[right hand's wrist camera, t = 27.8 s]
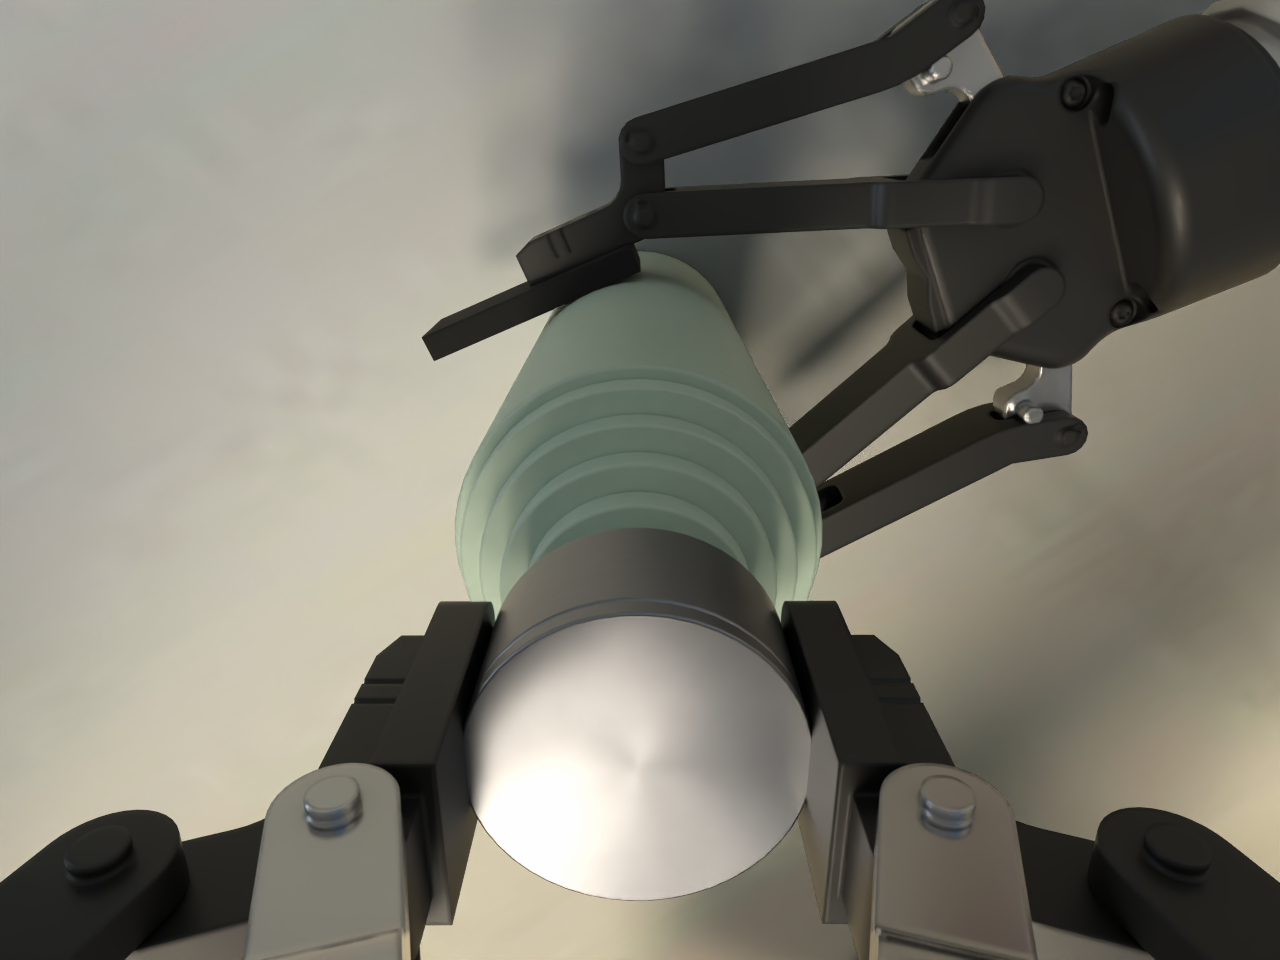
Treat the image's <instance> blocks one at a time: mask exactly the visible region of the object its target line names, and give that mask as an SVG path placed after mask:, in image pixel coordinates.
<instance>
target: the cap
mask: <svg viewBox="0 0 1280 960" xmlns="http://www.w3.org/2000/svg"><path fill="white" fill-rule="evenodd" d="M463 735H464V748H465V759H466V770H467V781H468V792H469V801H470V805H471V807H472V809H473V811H474V813H475V815H476V817H477V818H478V820H479V822H480V823H481V825H482V826H483V828H484V829H485V831H486V832H487V833H488V835H489V836H490V837H491V838H492V839H493V840H494V842H495V843H496V844H497V845H498V846H499V847H500V848H501V849H502V850H503V851H504V852H505V853H507V854H508V855H509V856H510V857H511V858H512V859H513V860H515V861H516V862H517V863H519V864H520V865H522V866H523V867H525V868H526V869H527V870H529V871H530V872H532V873H534V874H536V875H538V876H539V877H541V878H543V879H545V880H547V881H549V882H551V883H554V884H556V885H559V886H561V887H563V888H566V889H569V890H572V891H576V892H579V893H582V894H586V895H590V896H596V897H601V898H606V899H616V900H627V901H646V900H659V899H668V898H675V897H680V896H684V895H689V894H693V893H696V892H700V891H703V890H706V889H709V888H712V887H714V886H717V885H719V884H721V883H723V882H726V881H728V880H730V879H732V878H734V877H736V876H737V875H739V874H741V873H743V872H744V871H746V870H748V869H749V868H751V867H752V866H753V865H755V864H756V863H757V862H759V861H760V860H761V859H763V858H764V857H765V856H767V855H768V854H769V853H770V852H771V851H772V850H773V849H774V848H775V847H776V846H777V845H778V844H779V843H780V842H781V841H782V839H783V838H784V837H785V835H786V834H787V833H788V832H789V830H790V829H791V828H792V826H793V825H794V823H795V821H796V820H797V818H798V816H799V815H800V813H801V811H802V809H803V806H804V804H805V801H806V795H807V784H808V773H809V762H810V750H811V738H812V729H811V725H810V721H809V718H808V714H807V711H806V707H805V704H804V701H803V697H802V694H801V690H800V687H799V683H798V680H797V677H796V673H795V670H794V666H793V663H792V659H791V656H790V653H789V649H788V646H787V642H786V639H785V636H784V632H783V629H782V625H781V622H780V619H779V616H778V614H777V612H776V609H775V607H774V605H773V602H772V601H771V599H770V598H769V596H768V594H767V593H766V591H765V589H764V588H763V587H762V585H761V584H760V583H759V582H758V581H757V579H756V578H755V577H754V576H753V575H752V573H750V572H749V571H748V570H747V569H746V568H745V567H744V566H743V565H742V564H740V563H739V562H738V561H737V560H735V559H734V558H733V557H731V556H730V555H728V554H727V553H725V552H724V551H722V550H721V549H719V548H717V547H715V546H713V545H711V544H709V543H707V542H705V541H702V540H700V539H697V538H694V537H691V536H688V535H686V534H682V533H677V532H673V531H669V530H663V529H653V528H621V529H613V530H606V531H602V532H598V533H594V534H590V535H586V536H584V537H581V538H579V539H576V540H573V541H571V542H568V543H566V544H564V545H562V546H561V547H559V548H557V549H555V550H553V551H552V552H550V553H548V554H547V555H546V556H544V557H543V558H542V559H540V560H539V561H537V562H536V563H535V564H534V565H533V566H531V567H530V568H529V569H528V570H527V571H526V572H525V573H524V574H523V575H522V576H521V577H520V579H519V580H518V581H517V582H516V584H515V585H514V586H513V588H512V589H511V590H510V591H509V593H508V595H507V597H506V599H505V600H504V602H503V604H502V606H501V608H500V610H499V613H498V616H497V618H496V621H495V624H494V627H493V630H492V633H491V637H490V640H489V643H488V647H487V650H486V653H485V656H484V660H483V663H482V666H481V669H480V673H479V676H478V679H477V682H476V686H475V689H474V692H473V695H472V699H471V702H470V706H469V709H468V712H467V715H466V718H465V722H464V726H463Z"/></svg>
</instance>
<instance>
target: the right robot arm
mask: <svg viewBox="0 0 1280 960" xmlns="http://www.w3.org/2000/svg"><path fill="white" fill-rule="evenodd" d="M494 624H495V613H494V607H493V604H492V602H490V601H442V602H440V603H439V604H438V606H437V608H436V610H435V612H434V615H433V617H432V619H431V622H430V624H429V626H428V628H427V631H426V633H425V635H424V636H400V637H399V638H398V639H397V640H396V641H394V642H393V643H392V644H391V645H389V646H388V647H387V648H386V649H384V650H383V651H382V652H381V653H379V654H378V655H377V656H376V658H375V660H374V662H373V664H372V666H371V668H370V670H369V671H368V673H367V675H366V677H365V679H364V680H365V682H364V684H362V685H361V687H360V689H359V691H358V693H357V695H356V697H355V701H354V704H351V706H350V708H349V710H348V712H347V714H346V716H345V718H344V720H343V722H342V724H341V726H340V728H339V730H338V732H337V734H336V736H335V737H334V739H333V741H332V743H331V745H330V747H329V749H328V751H327V753H326V755H325V757H324V759H323V761H322V763H321V765H320V767H319V769H318V770H315V771H312V772H310V773H308V774H306V775H304V776H302V777H300V778H299V779H297V780H295V781H294V782H292V783H291V784H290V785H288V786H287V787H285V788H284V789H283V790H282V791H281V792H280V793H279V794H278V795H277V796H276V798H275V799H274V800H273V802H272V803H271V805H270V807H269V808H268V810H267V813H266V817H265V819H263V820H261V821H258V822H256V823H253V824H250V825H248V826H245V827H241V828H238V829H234V830H230V831H226V832H221V833H217V834H213V835H208V836H204V837H200V838H196V839H191V840H187V841H183V842H182V841H181V837H180V833H179V830H178V827H177V825H176V824H175V822H174V821H173V820H172V819H171V818H169V817H168V816H166V815H164V814H162V813H159V812H155V811H150V810H129V811H122V812H117V813H112V814H108V815H105V816H101V817H98V818H96V819H93V820H90V821H88V822H85V823H83V824H81V825H79V826H77V827H75V828H73V829H71V830H70V831H68V832H66V833H65V834H63V835H61V836H60V837H58V838H57V839H55V840H54V841H53V842H51V843H50V844H49V845H47V846H46V847H45V848H44V849H42V850H41V851H40V852H38V853H37V854H36V855H35V856H33V857H32V858H31V859H30V860H28V861H27V862H26V863H25V864H23V865H22V866H21V867H19V868H18V869H17V870H16V871H14V872H13V873H12V874H11V875H9V876H8V877H7V878H6V879H4V880H3V881H2V882H0V960H421V953H420V943H421V939H422V935H423V932H424V928H425V925H452V924H453V920H454V916H455V911H456V907H457V903H458V899H459V895H460V891H461V886H462V882H463V878H464V874H465V870H466V866H467V861H468V857H469V853H470V849H471V845H472V841H473V836H474V832H475V828H476V824H477V820H478V818H477V817H476V815H475V813H474V811H473V809H472V807H471V805H470V801H469V792H468V781H467V770H466V759H465V748H464V735H463V726H464V722H465V718H466V715H467V712H468V709H469V706H470V702H471V699H472V695H473V692H474V689H475V686H476V682H477V679H478V676H479V673H480V669H481V666H482V663H483V660H484V656H485V653H486V650H487V647H488V643H489V640H490V637H491V633H492V630H493V627H494ZM781 625H782V629H783V632H784V636H785V639H786V642H787V646H788V649H789V653H790V656H791V659H792V663H793V666H794V670H795V673H796V677H797V680H798V683H799V687H800V690H801V694H802V697H803V701H804V704H805V707H806V711H807V714H808V718H809V721H810V725H811V729H812V738H811V750H810V762H809V773H808V784H807V795H806V801H805V804H804V806H803V809H802V811H801V813H800V815H799V816H798V822H799V826H800V830H801V835H802V839H803V843H804V847H805V852H806V856H807V860H808V865H809V869H810V873H811V878H812V882H813V886H814V890H815V895H816V899H817V903H818V908H819V912H820V916H821V920H822V924H849V926H850V930H851V934H852V937H853V941H854V945H855V949H856V952H857V955H858V958H859V960H1280V883H1279V882H1278V881H1277V880H1276V879H1274V878H1273V877H1272V876H1271V875H1269V874H1268V873H1267V872H1266V871H1264V870H1263V869H1262V868H1261V867H1259V866H1258V865H1257V864H1255V863H1254V862H1253V861H1252V860H1250V859H1249V858H1248V857H1247V856H1245V855H1244V854H1243V853H1242V852H1240V851H1239V850H1238V849H1236V848H1235V847H1234V846H1233V845H1231V844H1230V843H1229V842H1228V841H1226V840H1225V839H1223V838H1222V837H1221V836H1219V835H1218V834H1216V833H1215V832H1213V831H1212V830H1210V829H1208V828H1206V827H1205V826H1203V825H1201V824H1199V823H1197V822H1195V821H1193V820H1190V819H1188V818H1185V817H1183V816H1180V815H1177V814H1174V813H1170V812H1167V811H1163V810H1158V809H1152V808H1142V807H1136V808H1125V809H1119V810H1117V811H1114V812H1112V813H1110V814H1109V815H1107V816H1106V817H1104V819H1103V820H1102V821H1101V822H1100V825H1099V828H1098V831H1097V835H1096V839H1095V841H1092V840H1087V839H1083V838H1079V837H1074V836H1070V835H1066V834H1062V833H1057V832H1053V831H1049V830H1045V829H1040V828H1037V827H1033V826H1030V825H1026V824H1024V823H1021V822H1018V821H1016V820H1015V817H1014V813H1013V810H1012V808H1011V807H1010V805H1009V803H1008V801H1007V800H1006V799H1005V798H1004V796H1003V795H1002V794H1001V793H1000V792H999V791H998V790H997V789H996V788H995V787H993V786H992V785H991V784H989V783H988V782H986V781H985V780H983V779H981V778H980V777H978V776H976V775H974V774H972V773H970V772H968V771H965V770H962V769H959V768H956V767H955V765H954V763H953V761H952V759H951V757H950V755H949V753H948V751H947V749H946V747H945V746H944V744H943V742H942V740H941V738H940V736H939V734H938V732H937V730H936V728H935V726H934V724H933V722H932V720H931V718H930V716H929V714H928V712H927V710H926V708H925V706H924V704H923V703H921V702H920V696H919V694H918V692H917V690H916V688H915V686H914V684H913V683H911V678H910V676H909V674H908V672H907V670H906V669H905V667H904V665H903V663H902V661H901V659H900V657H899V655H898V654H897V653H895V652H894V651H893V650H892V649H891V648H889V647H888V646H887V645H886V644H884V643H883V642H882V641H881V640H879V639H878V638H877V637H876V636H875V635H851V634H850V632H849V629H848V627H847V625H846V622H845V620H844V618H843V615H842V613H841V611H840V608H839V606H838V604H837V603H836V601H784V603H783V606H782V611H781Z"/></svg>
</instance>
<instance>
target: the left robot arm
mask: <svg viewBox="0 0 1280 960" xmlns="http://www.w3.org/2000/svg"><path fill="white" fill-rule="evenodd" d="M984 14H985V5H984V1H983V0H931V1H929V2H927V3H925V4H923V5H921V6H919V7H918V8H917V9H915V10H914V11H913V12H911V13H910V14H909V15H908V16H906V17H905V18H904V19H902V20H901V21H900V22H898V23H897V24H896V25H895V26H893V27H892V28H891V29H889V30H888V31H887V32H885V33H884V34H883V35H882V36H880V37H879V38H878V39H876V40H875V41H874V42H872V43H868V44H865V45H862V46H859V47H856V48H853V49H850V50H846V51H843V52H840V53H837V54H834V55H831V56H828V57H825V58H821V59H818V60H815V61H812V62H809V63H806V64H803V65H799V66H796V67H793V68H790V69H787V70H784V71H781V72H777V73H774V74H771V75H768V76H765V77H762V78H759V79H756V80H752V81H749V82H746V83H743V84H740V85H737V86H734V87H730V88H727V89H724V90H721V91H718V92H715V93H712V94H708V95H705V96H702V97H699V98H696V99H693V100H690V101H687V102H683V103H680V104H677V105H674V106H671V107H668V108H665V109H661V110H658V111H655V112H652V113H649V114H646V115H643V116H639V117H636V118H634V119H632V120H630V121H629V122H627V123H626V124H625V126H624V127H623V128H622V130H621V133H620V136H619V151H620V169H621V187H620V190H619V192H618V194H617V195H616V197H615V198H614V199H613V200H612V201H611V202H609V203H608V204H606V205H604V206H602V207H600V208H597V209H595V210H593V211H591V212H588V213H586V214H584V215H582V216H580V217H577V218H575V219H573V220H571V221H568V222H566V223H564V224H562V225H559V226H557V227H555V228H553V229H551V230H548V231H546V232H544V233H542V234H539V235H537V236H535V237H533V238H532V239H531V240H530V241H529V242H528V243H527V244H526V245H525V247H524V248H523V249H522V250H521V251H520V252H519V253H518V254H517V255H516V257H517V259H518V261H519V264H520V266H521V268H522V270H523V272H524V274H525V276H526V279H527V282H525V283H522V284H520V285H518V286H516V287H513V288H511V289H509V290H507V291H504V292H502V293H500V294H497V295H495V296H493V297H491V298H488V299H486V300H484V301H482V302H479V303H477V304H475V305H473V306H470V307H468V308H466V309H463V310H461V311H459V312H457V313H454V314H452V315H450V316H448V317H445V318H443V319H441V320H440V321H439V322H438V323H437V324H436V325H435V326H434V327H432V328H431V329H430V330H429V331H428V332H427V333H426V334H425V335H424V336H423V337H422V339H423V341H424V343H425V345H426V347H427V349H428V350H429V352H430V354H431V356H432V358H433V360H434V361H435V360H438V359H440V358H442V357H445V356H447V355H449V354H452V353H454V352H456V351H459V350H461V349H463V348H465V347H468V346H470V345H472V344H475V343H477V342H479V341H482V340H484V339H486V338H489V337H491V336H493V335H495V334H498V333H500V332H502V331H505V330H507V329H509V328H512V327H514V326H516V325H518V324H521V323H523V322H525V321H528V320H530V319H532V318H535V317H537V316H539V315H542V314H544V313H546V312H548V311H551V310H553V309H555V308H558V307H560V306H562V305H565V304H567V303H569V302H572V301H574V300H576V299H578V298H581V297H583V296H585V295H587V294H589V293H591V292H594V291H596V290H599V289H601V288H604V287H606V286H608V285H611V284H613V283H615V282H618V281H620V280H622V279H625V278H627V277H629V276H631V275H634V274H636V273H638V272H641V264H640V257H639V255H638V252H637V250H636V248H635V245H634V243H636V242H639V241H641V240H643V239H655V238H676V237H696V236H717V235H737V234H758V233H779V232H799V231H820V230H841V229H861V228H873V229H887V231H888V234H889V237H890V241H891V244H892V247H893V249H894V251H895V252H896V254H897V255H898V257H899V258H900V260H901V261H902V263H903V264H904V266H905V267H906V270H907V292H908V299H909V302H910V306H911V309H912V312H913V316H912V317H911V318H909V319H908V320H907V321H906V322H905V323H904V324H902V325H901V326H900V327H899V328H898V329H897V330H896V331H895V332H894V333H893V334H892V335H891V337H890V340H889V342H888V343H887V345H886V346H885V347H884V348H883V349H881V350H880V351H879V352H878V353H877V354H876V355H874V356H873V357H872V358H871V359H870V360H868V361H867V362H866V363H865V364H864V365H863V366H861V367H860V368H859V369H858V370H857V371H856V372H854V373H853V374H852V375H851V376H850V377H849V378H847V379H846V380H845V381H844V382H843V383H842V384H840V385H839V386H838V387H837V388H836V389H834V390H833V391H832V392H831V393H830V394H829V395H827V396H826V397H825V398H824V399H823V400H822V401H820V402H819V403H818V404H817V405H816V406H815V407H813V408H812V409H811V410H810V411H809V412H808V413H806V414H805V415H804V416H803V417H802V418H800V419H799V420H798V421H797V422H796V423H795V424H793V425H792V426H791V427H790V428H789V430H790V432H791V434H792V436H793V438H794V440H795V442H796V444H797V446H798V447H799V449H800V451H801V453H802V455H803V457H804V459H805V461H806V463H807V466H808V468H809V470H810V472H811V475H812V477H813V479H814V483H815V486H816V490H817V494H818V497H819V501H820V508H821V516H822V548H821V554H820V558H822V557H824V556H826V555H828V554H830V553H832V552H834V551H836V550H838V549H840V548H842V547H844V546H846V545H848V544H850V543H852V542H854V541H856V540H858V539H860V538H862V537H864V536H866V535H868V534H870V533H872V532H874V531H876V530H878V529H880V528H882V527H884V526H886V525H889V524H891V523H893V522H895V521H897V520H899V519H901V518H903V517H905V516H907V515H909V514H911V513H913V512H915V511H917V510H919V509H921V508H923V507H925V506H927V505H929V504H931V503H933V502H935V501H937V500H939V499H941V498H943V497H945V496H947V495H949V494H951V493H953V492H955V491H958V490H960V489H962V488H964V487H966V486H968V485H970V484H972V483H974V482H976V481H978V480H980V479H982V478H984V477H986V476H988V475H990V474H992V473H994V472H996V471H998V470H1000V469H1002V468H1004V467H1006V466H1008V465H1010V464H1012V463H1019V462H1025V461H1031V460H1038V459H1044V458H1050V457H1057V456H1063V455H1068V454H1071V453H1074V452H1076V451H1077V450H1079V449H1080V448H1081V447H1082V446H1083V445H1084V443H1085V442H1086V439H1087V435H1088V431H1087V426H1086V425H1085V424H1084V423H1083V421H1082V420H1080V419H1078V418H1077V417H1075V416H1074V415H1072V412H1071V400H1072V364H1074V363H1076V362H1077V361H1079V360H1080V359H1082V358H1083V357H1084V356H1085V355H1087V353H1088V352H1089V351H1090V350H1091V349H1092V348H1093V347H1094V346H1095V345H1096V344H1097V343H1098V342H1100V341H1101V340H1102V339H1103V338H1105V337H1106V336H1107V335H1109V334H1111V333H1112V332H1114V331H1116V330H1118V329H1121V328H1123V327H1127V326H1130V325H1133V324H1137V323H1140V322H1143V321H1147V320H1150V319H1153V318H1156V317H1158V316H1161V315H1164V314H1166V313H1169V312H1171V311H1174V310H1176V309H1179V308H1181V307H1184V306H1187V305H1189V304H1192V303H1194V302H1197V301H1199V300H1202V299H1204V298H1207V297H1210V296H1212V295H1215V294H1217V293H1220V292H1222V291H1225V290H1227V289H1230V288H1233V287H1235V286H1238V285H1240V284H1243V283H1245V282H1248V281H1250V280H1253V279H1256V278H1258V277H1260V276H1263V275H1265V274H1267V273H1268V272H1270V271H1271V270H1273V269H1274V268H1276V267H1277V266H1278V265H1279V264H1280V0H1219V1H1217V2H1214V3H1213V4H1211V5H1210V6H1209V7H1208V8H1207V9H1206V10H1205V11H1203V12H1202V13H1201V14H1200V15H1197V14H1193V15H1185V16H1182V17H1179V18H1176V19H1173V20H1171V21H1169V22H1166V23H1164V24H1162V25H1160V26H1157V27H1155V28H1153V29H1150V30H1148V31H1146V32H1144V33H1141V34H1139V35H1137V36H1134V37H1132V38H1130V39H1128V40H1125V41H1123V42H1121V43H1119V44H1116V45H1114V46H1112V47H1109V48H1107V49H1105V50H1103V51H1100V52H1098V53H1096V54H1093V55H1091V56H1089V57H1087V58H1084V59H1082V60H1080V61H1077V62H1075V63H1073V64H1071V65H1068V66H1066V67H1064V68H1061V69H1059V70H1057V71H1055V72H1052V73H1050V74H1048V75H1045V76H1042V77H1039V78H1029V77H1022V76H1006V77H1003V75H1002V73H1001V71H1000V69H999V67H998V65H997V63H996V61H995V60H994V58H993V56H992V54H991V52H990V50H989V48H988V46H987V44H986V42H985V40H984V39H983V37H982V35H981V33H980V31H979V28H980V26H981V24H982V21H983V19H984ZM900 84H902V85H903V87H904V88H905V90H906V91H907V92H909V93H910V94H912V95H916V96H925V95H931V94H936V93H938V92H941V91H943V90H945V91H949V92H951V93H952V94H954V95H955V96H956V98H957V99H958V100H959V102H958V104H957V105H956V107H955V108H954V110H953V111H952V113H951V114H950V116H949V117H948V119H947V120H946V121H945V123H944V124H943V126H942V127H941V129H940V130H939V132H938V133H937V135H936V136H935V138H934V139H933V141H932V142H931V144H930V145H929V147H928V148H927V150H926V151H925V153H924V154H923V155H922V157H921V158H920V160H919V161H918V163H917V164H916V166H915V167H914V169H913V170H912V172H911V173H910V175H894V176H874V177H857V178H849V179H830V180H810V181H790V182H769V183H749V184H729V185H708V186H688V187H667V188H665V173H664V159H667V158H670V157H673V156H677V155H680V154H683V153H686V152H689V151H693V150H696V149H699V148H702V147H705V146H709V145H712V144H715V143H718V142H721V141H725V140H728V139H731V138H734V137H737V136H741V135H744V134H747V133H750V132H753V131H756V130H760V129H763V128H766V127H769V126H772V125H776V124H779V123H782V122H785V121H788V120H792V119H795V118H798V117H801V116H804V115H808V114H811V113H814V112H817V111H820V110H824V109H827V108H830V107H833V106H836V105H840V104H843V103H846V102H849V101H852V100H856V99H859V98H862V97H865V96H868V95H872V94H875V93H878V92H881V91H884V90H887V89H889V88H892V87H894V86H897V85H900ZM989 355H990V356H995V357H999V358H1003V359H1007V360H1012V361H1016V362H1020V363H1025V364H1026V368H1025V371H1024V373H1023V374H1022V375H1021V377H1020V378H1019V379H1017V380H1016V381H1015V382H1012V383H1010V384H1008V385H1005V386H1003V387H1000V388H998V389H997V390H996V391H995V393H994V399H993V403H988V404H983V405H980V406H977V407H974V408H971V409H968V410H966V411H964V412H961V413H959V414H957V415H955V416H953V417H951V418H949V419H947V420H945V421H943V422H941V423H939V424H937V425H935V426H933V427H931V428H929V429H927V430H925V431H923V432H921V433H919V434H918V435H916V436H914V437H912V438H910V439H908V440H906V441H904V442H902V443H900V444H898V445H896V446H894V447H892V448H890V449H888V450H886V451H884V452H882V453H880V454H878V455H876V456H874V457H872V458H870V459H868V460H867V461H865V462H863V463H861V464H859V465H857V466H855V467H853V468H851V469H849V470H847V471H845V472H843V473H841V474H839V475H837V476H835V477H833V478H831V479H829V480H827V479H828V478H829V477H831V476H832V475H833V474H834V473H836V472H837V471H838V470H839V469H840V468H842V467H843V466H844V465H845V464H846V463H848V462H849V461H850V460H851V459H853V458H854V457H855V456H856V455H857V454H859V453H860V452H861V451H862V450H864V449H865V448H866V447H867V446H868V445H870V444H871V443H872V442H873V441H874V440H876V439H877V438H878V437H879V436H881V435H882V434H883V433H884V432H885V431H887V430H888V429H889V428H890V427H892V426H893V425H894V424H895V423H896V422H898V421H899V420H900V419H901V418H902V417H904V416H905V415H906V414H907V413H909V412H910V411H911V410H912V409H913V408H915V407H916V406H917V405H918V404H920V403H921V402H922V401H923V400H924V399H926V398H927V397H928V396H929V395H931V394H932V393H933V392H935V391H937V390H942V389H946V388H948V387H950V386H952V385H953V384H955V383H956V382H958V381H959V380H960V379H961V378H963V377H964V376H965V375H966V374H967V373H969V372H970V371H971V370H972V369H974V368H975V367H976V366H977V365H978V364H980V363H981V362H982V361H983V360H985V359H986V358H987V357H988V356H989ZM826 480H827V481H826Z"/></svg>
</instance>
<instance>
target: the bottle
mask: <svg viewBox="0 0 1280 960" xmlns="http://www.w3.org/2000/svg"><path fill="white" fill-rule="evenodd" d="M637 252H638V255H639V257H640V264H641V272H638V273H636V274H634V275H631V276H629V277H627V278H625V279H622V280H620V281H618V282H615V283H613V284H611V285H608V286H606V287H604V288H601V289H599V290H596V291H594V292H591V293H589V294H587V295H585V296H583V297H581V298H578V299H576V300H574V301H572V302H569V303H567V304H565V305H562V306H560V307H558V308H555V309H554V311H553V312H552V314H551V316H550V318H549V320H548V322H547V323H546V325H545V327H544V329H543V331H542V333H541V334H540V336H539V338H538V340H537V342H536V344H535V345H534V347H533V349H532V351H531V353H530V355H529V356H528V358H527V360H526V362H525V364H524V366H523V367H522V369H521V371H520V373H519V375H518V377H517V378H516V380H515V382H514V384H513V386H512V388H511V389H510V391H509V393H508V395H507V397H506V399H505V401H504V402H503V404H502V406H501V408H500V410H499V412H498V413H497V415H496V417H495V419H494V421H493V423H492V424H491V426H490V428H489V430H488V432H487V434H486V435H485V437H484V439H483V441H482V443H481V445H480V446H479V448H478V450H477V452H476V454H475V456H474V458H473V460H472V462H471V464H470V466H469V469H468V471H467V473H466V475H465V477H464V481H463V484H462V488H461V491H460V494H459V498H458V504H457V511H456V518H455V544H456V551H457V557H458V564H459V567H460V571H461V574H462V577H463V581H464V584H465V587H466V589H467V592H468V595H469V599H470V601H490V602H492V604H493V607H494V613H495V621H496V618H497V616H498V613H499V610H500V608H501V606H502V604H503V602H504V600H505V599H506V597H507V595H508V593H509V591H510V590H511V589H512V588H513V586H514V585H515V584H516V582H517V581H518V580H519V579H520V577H521V576H522V575H523V574H524V573H525V572H526V571H527V570H528V569H529V568H530V567H531V566H533V565H534V564H535V563H536V562H537V561H539V560H540V559H542V558H543V557H544V556H546V555H547V554H548V553H550V552H552V551H553V550H555V549H557V548H559V547H561V546H562V545H564V544H566V543H568V542H571V541H573V540H576V539H579V538H581V537H584V536H586V535H590V534H594V533H598V532H602V531H606V530H613V529H621V528H653V529H663V530H669V531H673V532H677V533H682V534H686V535H688V536H691V537H694V538H697V539H700V540H702V541H705V542H707V543H709V544H711V545H713V546H715V547H717V548H719V549H721V550H722V551H724V552H725V553H727V554H728V555H730V556H731V557H733V558H734V559H735V560H737V561H738V562H739V563H740V564H742V565H743V566H744V567H745V568H746V569H747V570H748V571H749V572H750V573H752V575H753V576H754V577H755V578H756V579H757V581H758V582H759V583H760V584H761V585H762V587H763V588H764V589H765V591H766V593H767V594H768V596H769V598H770V599H771V601H772V602H773V605H774V607H775V609H776V612H777V614H778V616H779V619H780V622H781V611H782V606H783V603H784V601H807V600H808V596H809V593H810V590H811V588H812V586H813V582H814V579H815V576H816V573H817V569H818V566H819V560H820V554H821V548H822V516H821V508H820V501H819V497H818V494H817V490H816V486H815V483H814V479H813V477H812V475H811V472H810V470H809V468H808V466H807V463H806V461H805V459H804V457H803V455H802V453H801V451H800V449H799V447H798V446H797V444H796V442H795V440H794V438H793V436H792V434H791V432H790V430H789V429H788V427H787V425H786V423H785V421H784V419H783V417H782V415H781V413H780V411H779V410H778V408H777V406H776V404H775V402H774V400H773V398H772V396H771V394H770V393H769V391H768V389H767V387H766V385H765V383H764V381H763V379H762V377H761V375H760V374H759V372H758V370H757V368H756V366H755V364H754V362H753V360H752V358H751V356H750V355H749V353H748V351H747V349H746V347H745V345H744V343H743V341H742V339H741V338H740V336H739V334H738V332H737V330H736V328H735V326H734V324H733V322H732V320H731V319H730V317H729V315H728V313H727V311H726V309H725V307H724V305H723V303H722V301H721V300H720V298H719V296H718V295H717V293H716V291H715V290H714V288H713V287H712V286H711V285H710V284H709V282H708V281H707V280H706V279H705V278H704V277H703V276H702V275H701V274H700V273H699V272H697V271H696V270H695V269H693V268H692V267H690V266H689V265H688V264H686V263H684V262H682V261H680V260H678V259H676V258H673V257H670V256H667V255H664V254H660V253H655V252H645V251H637Z"/></svg>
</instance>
